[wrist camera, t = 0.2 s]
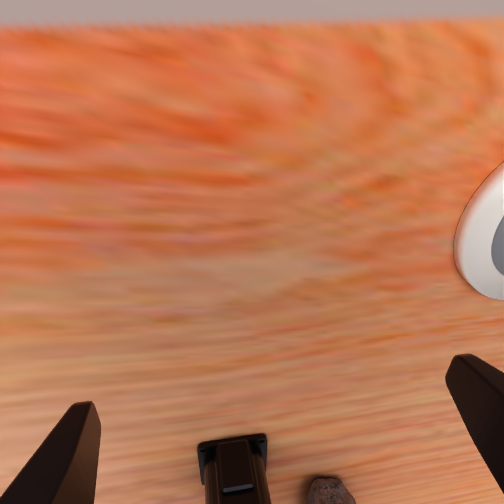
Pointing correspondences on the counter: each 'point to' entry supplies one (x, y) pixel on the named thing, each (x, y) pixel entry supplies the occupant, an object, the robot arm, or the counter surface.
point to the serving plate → (483, 238)
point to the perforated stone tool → (329, 492)
